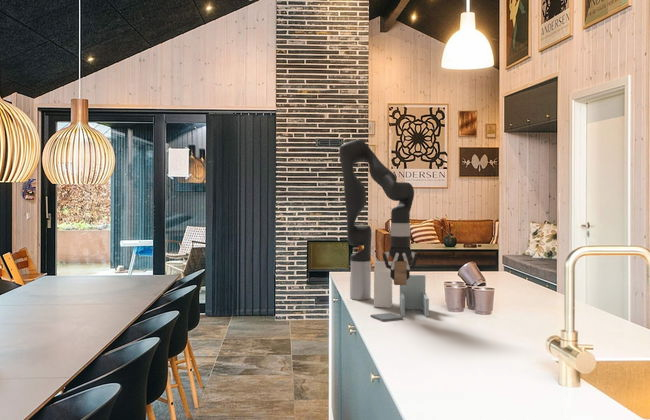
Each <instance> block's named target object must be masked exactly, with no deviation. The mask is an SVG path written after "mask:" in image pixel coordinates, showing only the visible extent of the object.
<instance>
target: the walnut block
mask: <svg viewBox="0 0 650 420" xmlns="http://www.w3.org/2000/svg"><path fill="white" fill-rule="evenodd" d="M393 285H394V286H400V285H407V261H395V264H394V280H393Z"/></svg>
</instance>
